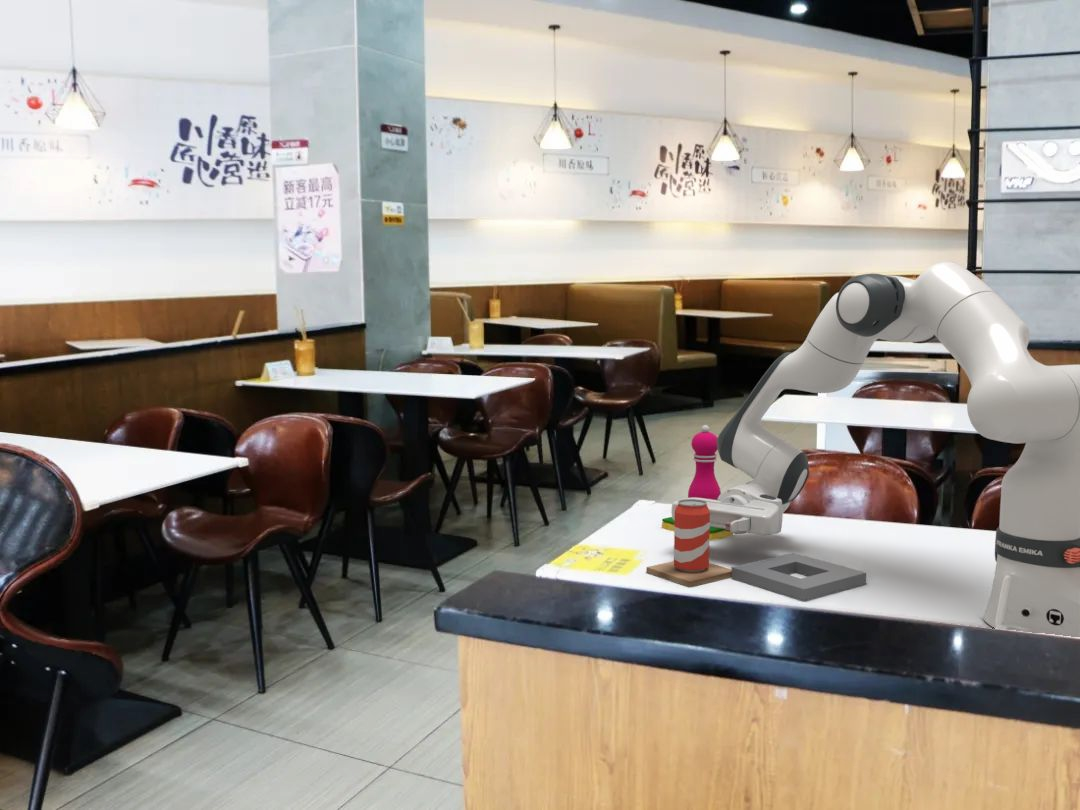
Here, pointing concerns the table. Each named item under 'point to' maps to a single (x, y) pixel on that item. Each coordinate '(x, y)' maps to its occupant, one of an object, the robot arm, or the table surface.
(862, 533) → the table surface
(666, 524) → the dish sponge
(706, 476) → the pepper mill
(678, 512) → the beverage can
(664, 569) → the coaster pad
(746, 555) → the table surface
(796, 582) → the dock
